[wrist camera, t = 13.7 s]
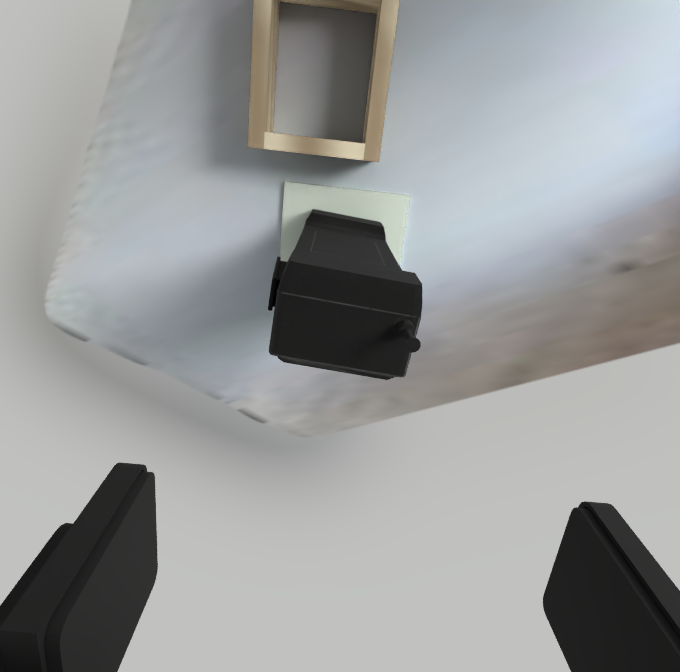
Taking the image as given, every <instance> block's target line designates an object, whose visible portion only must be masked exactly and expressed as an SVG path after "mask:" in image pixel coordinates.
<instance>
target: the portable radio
mask: <svg viewBox="0 0 680 672" xmlns="http://www.w3.org/2000/svg"><path fill="white" fill-rule="evenodd" d="M273 306H274V307H275V311H274V318H273V325H272V332H271V339H270V346H269V353H270V354H271V355H275V356H277V357H278V358H279V359H280V360H281V361H283V362H286V363H292V364H298V365H304V366H310V367H315V368H321V369H327V370H333V371H339V372H345V373H350V374H356V375H362V376H368V377H374V378H380V379H385V380H388V379H391V378H394V377H404V376H405V375H406V371H407V368H408V364H409V360H410V356H411V353H412V352H416V351H418V350H419V348H420V341H419V340H418V339H417V338H416V334H417V331H418V327H419V323H420V319H421V310H422V283H421V282H420V280H419V279H418V277H417V276H416V274H415V273H411V272H406V271H402V270H401V268H400V266H399V264H398V262H397V261H396V259H395V257H394V255H393V253H392V252H391V250H390V248H389V246H388V244H387V242H386V235H385V230H384V226H383V225H382V223H381V222H378V221H373V220H368V219H363V218H358V217H353V216H347V215H342V214H337V213H332V212H327V211H322V210H317V209H312V211H311V213H310V215H309V216H308V218H307V219H306V221H305V225H304V228H303V231H302V233H301V235H300V237H299V240H298V242H297V244H296V247H295V249H294V250H293V252H292V254H291V256H290V258H289V259H288V261H287V262H286V261H281V257H277V261H276V265H275V270H274V274H273V278H272V285H271V292H270V299H269V306H268V310H270V311H271V310H272V308H273Z"/></svg>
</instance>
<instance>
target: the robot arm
mask: <svg viewBox="0 0 680 672" xmlns="http://www.w3.org/2000/svg"><path fill="white" fill-rule="evenodd" d="M157 565H158V563H157V533H156V502H155V476H154V473H152V472H147V468H146V466H145V465H140V464H129V463H117V464H116V465H115V466H114V467H113V469H112V470H111V471H110V473H109V474H108V476H107V477H106V478H105V480H104V481H103V483H102V484H101V485H100V487H99V489H98V490H97V491H96V492H95V494H94V495H93V497H92V498H91V500H90V501H89V503H88V504H87V505H86V507H85V508H84V509H83V511H82V512H81V514H80V515H79V517H78V518H77V520H76V521H75V522H74V524H70V523H65V524H63V525H61V526H60V527H59V528H58V529H57V530H56V531H55V533H54V534H53V535H52V537H51V538H50V539H49V541H48V542H47V543H46V545H45V546H44V548H43V549H42V550H41V552H40V553H39V554H38V556H37V557H36V558H35V560H34V561H33V562H32V564H31V565H30V566H29V568H28V569H27V571H26V572H25V573H24V574H23V576H22V577H21V579H20V580H19V581H18V583H17V584H16V585H15V587H14V588H13V589H12V591H11V592H10V594H9V595H8V596H7V597H6V599H5V600H4V602H3V603H2V604H1V606H0V672H117V671H118V669H119V666H120V664H121V662H122V659H123V657H124V654H125V652H126V649H127V647H128V645H129V643H130V640H131V638H132V636H133V633H134V631H135V628H136V626H137V624H138V621H139V618H140V616H141V614H142V612H143V609H144V607H145V605H146V602H147V600H148V598H149V595H150V593H151V590H152V588H153V586H154V583H155V579H156V575H157V567H158V566H157ZM543 607H544V611H545V614H546V616H547V619H548V621H549V623H550V626H551V628H552V630H553V632H554V634H555V636H556V639H557V641H558V643H559V646H560V648H561V650H562V652H563V654H564V657H565V659H566V661H567V663H568V665H569V668H570V670H571V672H680V591H679V589H678V588H677V587H676V586H675V584H674V583H673V582H672V581H671V579H670V578H669V577H668V575H667V574H666V573H665V572H664V570H663V569H662V568H661V567H660V565H659V564H658V563H657V561H656V560H655V559H654V557H653V556H652V555H651V554H650V552H649V551H648V550H647V549H646V547H645V546H644V545H643V543H642V542H641V541H640V540H639V538H638V537H637V536H636V535H635V533H634V532H633V531H632V529H631V528H630V527H629V526H628V524H627V523H626V522H625V520H624V519H623V518H622V517H621V515H620V514H619V513H618V511H617V510H616V509H615V508H614V507H613V506H612V505H611V504H607V503H595V502H582V503H581V504H580V505H579V507H578V508H574V509H573V510H572V512H571V514H570V517H569V520H568V523H567V526H566V529H565V532H564V535H563V538H562V541H561V544H560V547H559V550H558V553H557V556H556V560H555V562H554V565H553V568H552V572H551V574H550V578H549V581H548V584H547V587H546V590H545V593H544V596H543Z"/></svg>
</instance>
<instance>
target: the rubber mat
mask: <svg viewBox="0 0 680 672" xmlns="http://www.w3.org/2000/svg"><path fill="white" fill-rule="evenodd" d="M409 202H410V196H409V195H400V194H391V193H383V192H374V191H365V190H356V189H347V188H338V187H329V186H320V185H311V184H302V183H293V182H285V184H284V199H283V214H282V230H281V245H280V257H281V261H286V262H287V261H288V259H289V258H290V256H291V254H292V252H293V250H294V249H295V247H296V244H297V242H298V240H299V237H300V235H301V233H302V231H303V228H304V225H305V221H306V219H307V218H308V216H309V215H310V213H311V211H312V209H317V210H322V211H327V212H332V213H337V214H342V215H347V216H353V217H358V218H363V219H368V220H373V221H378V222H381V223H382V225H383V226H384V230H385V235H386V242H387V244H388V246H389V248H390V250H391V252H392V253H393V255H394V257H395V259H396V261H397V262H398V264H399V266H400V262H401V255H402V248H403V242H404V235H405V229H406V222H407V215H408V209H409Z"/></svg>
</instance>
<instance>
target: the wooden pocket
mask: <svg viewBox="0 0 680 672" xmlns="http://www.w3.org/2000/svg"><path fill="white" fill-rule="evenodd" d="M280 2H287V3H295V4H303V5H311V6H318V7H326V8H334V9H342V10H350V11H358V12H365V13H373V14H377V18H376V27H375V36H374V44H373V53H372V62H371V71H370V79H369V88H368V97H367V106H366V114H365V123H364V132H363V140H362V143H356V142H347V141H339V140H330V139H321V138H313V137H304V136H295V135H287V134H278V133H273V120H274V102H275V84H276V66H277V47H278V29H279V11H280ZM398 8H399V0H254V5H253V30H252V56H251V81H250V106H249V131H248V147H251V148H260V149H268V150H277V151H286V152H295V153H303V154H312V155H321V156H330V157H338V158H347V159H356V160H365V161H373V162H379V157H380V149H381V141H382V133H383V126H384V118H385V110H386V102H387V94H388V86H389V78H390V71H391V63H392V55H393V47H394V39H395V31H396V23H397V16H398Z"/></svg>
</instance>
